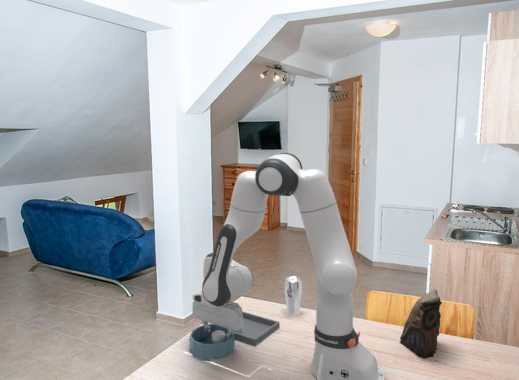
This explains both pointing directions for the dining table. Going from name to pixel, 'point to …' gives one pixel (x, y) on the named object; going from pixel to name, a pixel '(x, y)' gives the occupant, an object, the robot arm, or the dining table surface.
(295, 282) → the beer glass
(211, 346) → the bowl
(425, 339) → the owl
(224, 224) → the robot arm
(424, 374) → the dining table surface
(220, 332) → the stone
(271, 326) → the tray
